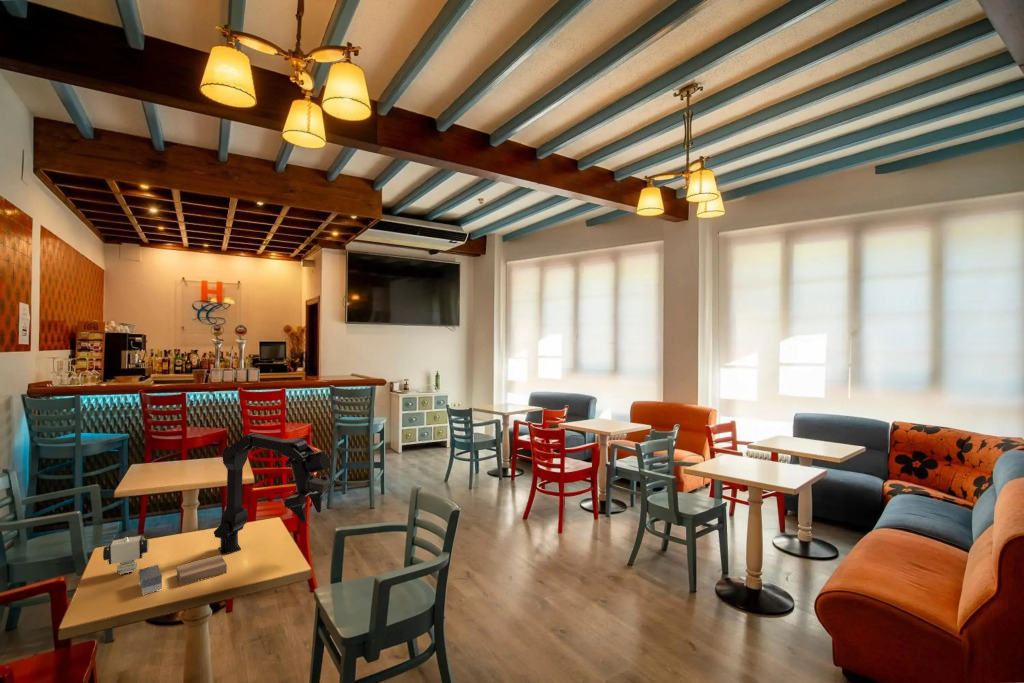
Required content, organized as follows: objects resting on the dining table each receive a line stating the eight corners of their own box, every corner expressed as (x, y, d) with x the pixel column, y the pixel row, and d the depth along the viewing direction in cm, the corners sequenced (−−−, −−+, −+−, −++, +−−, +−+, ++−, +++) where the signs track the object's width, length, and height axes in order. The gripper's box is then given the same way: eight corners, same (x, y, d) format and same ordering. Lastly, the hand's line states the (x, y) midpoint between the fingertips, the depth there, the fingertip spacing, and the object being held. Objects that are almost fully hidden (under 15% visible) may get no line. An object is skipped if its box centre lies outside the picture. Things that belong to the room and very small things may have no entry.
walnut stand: (176, 575, 167) (176, 566, 167) (221, 563, 176) (220, 554, 176) (180, 586, 161) (180, 576, 160) (226, 572, 169) (226, 564, 169)
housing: (139, 584, 162) (138, 569, 161) (158, 579, 165) (157, 564, 165) (142, 596, 155) (142, 580, 155) (162, 590, 158) (161, 575, 158)
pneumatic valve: (147, 570, 170) (146, 536, 170) (103, 579, 164) (102, 543, 164) (149, 564, 175) (148, 530, 174) (106, 572, 169) (106, 537, 168)
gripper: (307, 478, 168) (317, 523, 168) (336, 463, 186) (345, 504, 186) (278, 484, 170) (288, 529, 170) (309, 468, 188) (318, 509, 188)
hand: (312, 517), depth 178 cm, fingers open, 9 cm apart
